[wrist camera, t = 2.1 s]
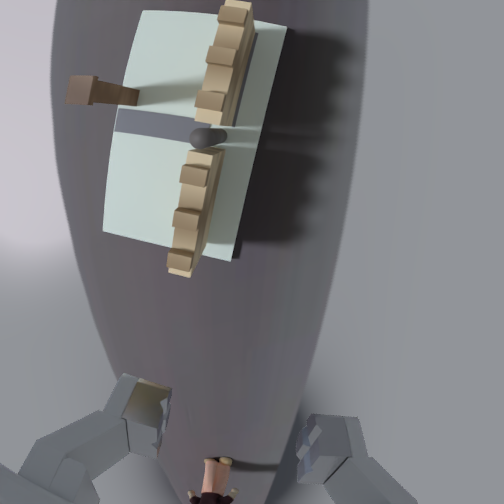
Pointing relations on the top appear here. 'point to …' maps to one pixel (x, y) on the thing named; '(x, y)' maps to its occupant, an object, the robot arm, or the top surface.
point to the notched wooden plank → (194, 208)
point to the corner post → (99, 92)
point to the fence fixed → (224, 73)
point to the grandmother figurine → (215, 483)
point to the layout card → (182, 128)
